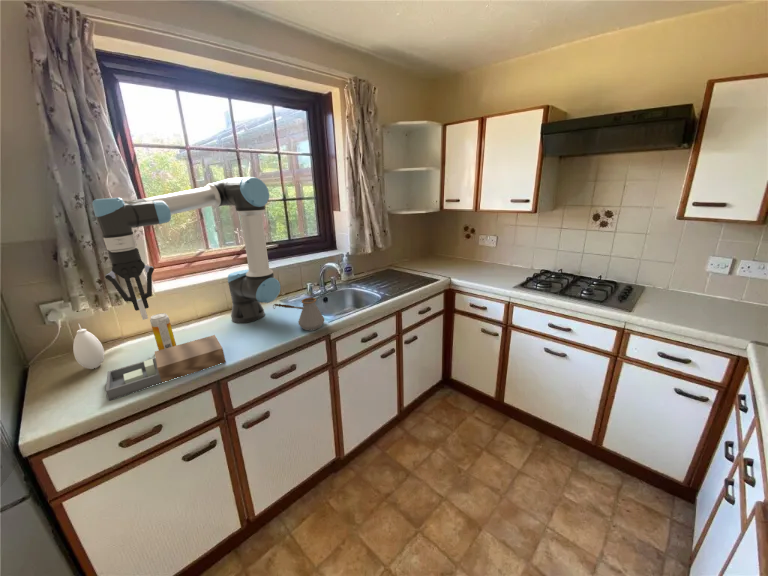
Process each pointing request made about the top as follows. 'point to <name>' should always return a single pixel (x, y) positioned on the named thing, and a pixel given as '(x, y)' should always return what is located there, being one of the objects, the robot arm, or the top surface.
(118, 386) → the box
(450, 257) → the top surface
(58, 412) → the top surface
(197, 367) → the walnut board
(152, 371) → the rear tile
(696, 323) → the top surface
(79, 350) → the air blower bulb
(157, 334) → the beer can
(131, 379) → the front tile
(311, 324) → the coffee pot
